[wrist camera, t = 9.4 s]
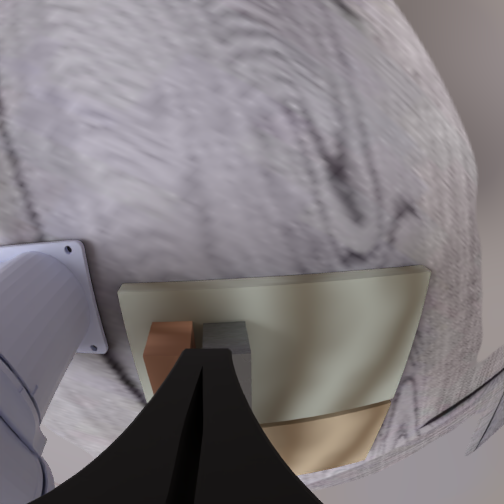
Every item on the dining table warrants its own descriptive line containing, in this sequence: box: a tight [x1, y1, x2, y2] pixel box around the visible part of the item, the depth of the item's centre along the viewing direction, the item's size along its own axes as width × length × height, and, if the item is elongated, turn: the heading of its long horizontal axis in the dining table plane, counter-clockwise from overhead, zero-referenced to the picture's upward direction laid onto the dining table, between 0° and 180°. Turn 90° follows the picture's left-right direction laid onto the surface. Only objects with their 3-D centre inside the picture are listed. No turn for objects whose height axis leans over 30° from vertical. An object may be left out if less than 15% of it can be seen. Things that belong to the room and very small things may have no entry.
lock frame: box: [117, 265, 431, 475], centre depth 20 cm, size 20×23×4 cm
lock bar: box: [202, 321, 252, 410], centre depth 18 cm, size 15×3×3 cm, turn 0°
